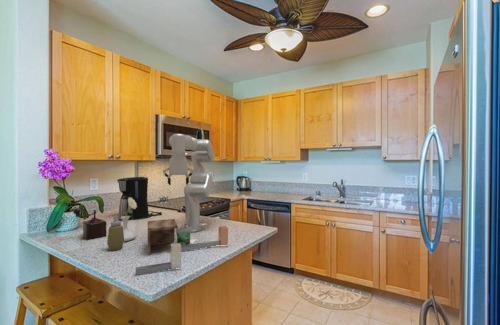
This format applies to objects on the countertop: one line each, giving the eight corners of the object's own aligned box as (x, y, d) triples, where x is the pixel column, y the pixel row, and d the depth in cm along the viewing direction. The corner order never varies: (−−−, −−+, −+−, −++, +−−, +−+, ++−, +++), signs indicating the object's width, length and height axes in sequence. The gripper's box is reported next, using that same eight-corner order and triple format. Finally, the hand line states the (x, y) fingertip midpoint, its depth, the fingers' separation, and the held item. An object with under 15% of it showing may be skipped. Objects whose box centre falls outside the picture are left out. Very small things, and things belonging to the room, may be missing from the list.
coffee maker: (112, 218, 198) (112, 177, 198) (150, 211, 223) (150, 175, 223) (125, 222, 184) (125, 178, 184) (163, 215, 209) (163, 176, 209)
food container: (186, 247, 130) (186, 229, 130) (176, 247, 131) (176, 229, 131) (195, 240, 143) (195, 223, 143) (185, 240, 143) (185, 223, 143)
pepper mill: (101, 232, 157) (101, 205, 157) (106, 236, 150) (107, 207, 150) (72, 238, 145) (72, 208, 145) (76, 242, 138) (77, 211, 138)
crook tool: (221, 239, 144) (222, 222, 144) (227, 246, 133) (228, 228, 133) (179, 244, 134) (179, 226, 134) (182, 252, 123) (182, 233, 123)
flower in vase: (124, 244, 136) (124, 199, 136) (109, 241, 140) (109, 198, 140) (142, 237, 148) (142, 196, 148) (128, 235, 152) (128, 195, 152)
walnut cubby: (174, 241, 141) (174, 218, 141) (177, 251, 125) (177, 225, 125) (147, 244, 135) (147, 221, 135) (147, 255, 120) (147, 228, 120)
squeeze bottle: (112, 252, 123) (112, 217, 123) (103, 249, 127) (104, 215, 127) (127, 248, 130) (127, 214, 130) (119, 245, 134) (119, 212, 134)
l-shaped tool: (179, 265, 109) (180, 243, 109) (181, 268, 105) (181, 245, 105) (135, 272, 101) (135, 248, 101) (135, 276, 98) (135, 251, 98)
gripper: (192, 155, 147) (192, 183, 147) (162, 155, 140) (162, 184, 140) (194, 155, 140) (194, 184, 140) (163, 155, 133) (163, 185, 133)
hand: (178, 184), depth 140 cm, fingers open, 9 cm apart
